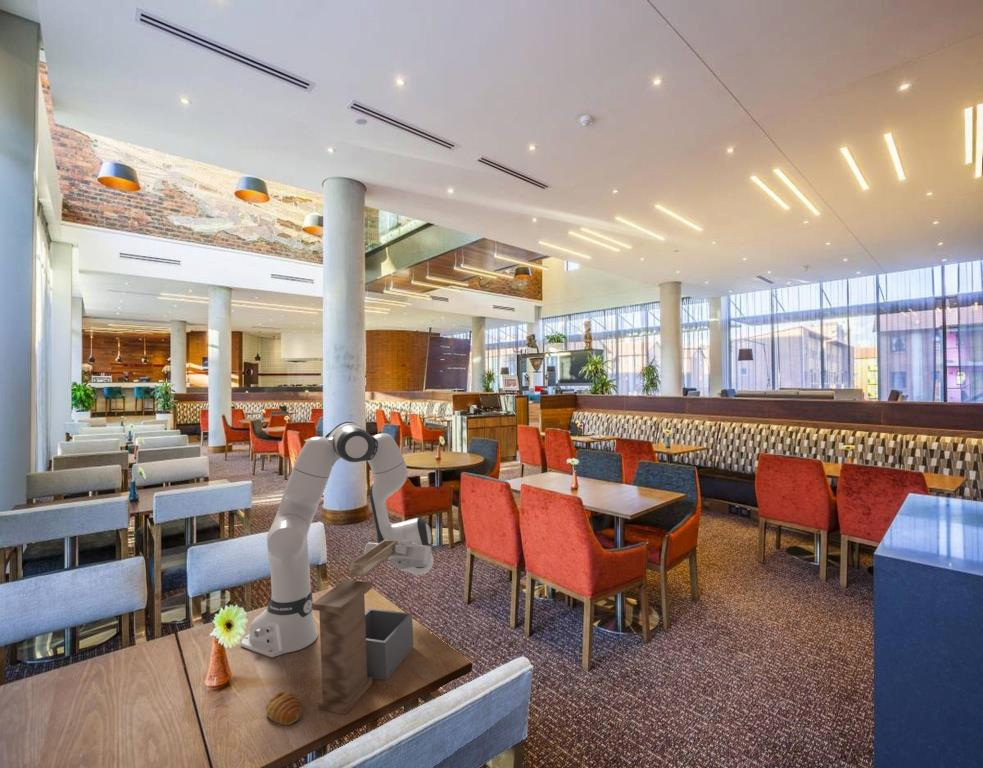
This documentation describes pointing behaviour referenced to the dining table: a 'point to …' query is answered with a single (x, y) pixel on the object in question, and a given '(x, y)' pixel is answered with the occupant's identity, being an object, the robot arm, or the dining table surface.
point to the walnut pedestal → (343, 645)
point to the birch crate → (372, 558)
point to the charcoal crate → (387, 641)
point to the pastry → (284, 708)
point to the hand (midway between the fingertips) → (385, 547)
